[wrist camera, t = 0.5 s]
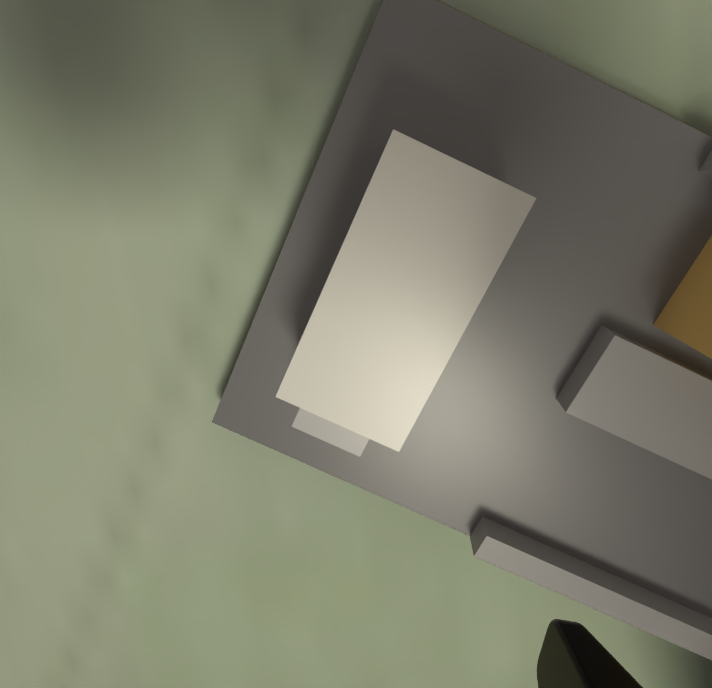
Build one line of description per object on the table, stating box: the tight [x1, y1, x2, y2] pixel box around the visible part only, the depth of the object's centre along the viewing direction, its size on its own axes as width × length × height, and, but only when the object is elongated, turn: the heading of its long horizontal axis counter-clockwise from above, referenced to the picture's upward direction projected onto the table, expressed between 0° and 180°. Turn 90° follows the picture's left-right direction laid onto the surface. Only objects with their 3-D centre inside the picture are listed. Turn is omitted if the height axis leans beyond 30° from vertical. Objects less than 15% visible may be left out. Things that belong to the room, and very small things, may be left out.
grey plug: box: [276, 129, 536, 457], centre depth 17 cm, size 4×9×4 cm, turn 156°
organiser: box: [212, 0, 712, 660], centre depth 19 cm, size 23×16×3 cm
